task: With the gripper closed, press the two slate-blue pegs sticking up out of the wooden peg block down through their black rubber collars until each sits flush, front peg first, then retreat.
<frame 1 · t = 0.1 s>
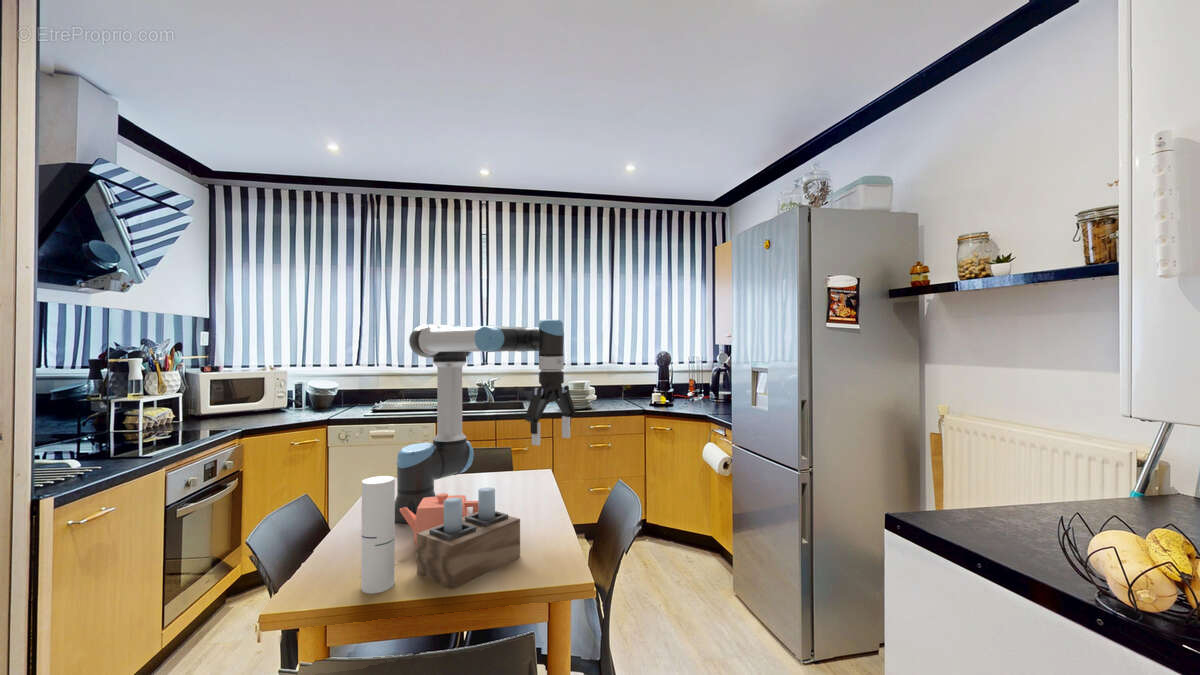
hand: (551, 441, 146), 28 cm above the table, fingers open, 13 cm apart
peg rear: (486, 506, 131), point 14 cm above the table, slide at 0.0 cm
teapot: (440, 544, 140), on the table
peg front: (453, 518, 122), point 14 cm above the table, slide at 0.0 cm
cylindrical container: (378, 586, 115), on the table
wooden peg block: (470, 564, 126), on the table
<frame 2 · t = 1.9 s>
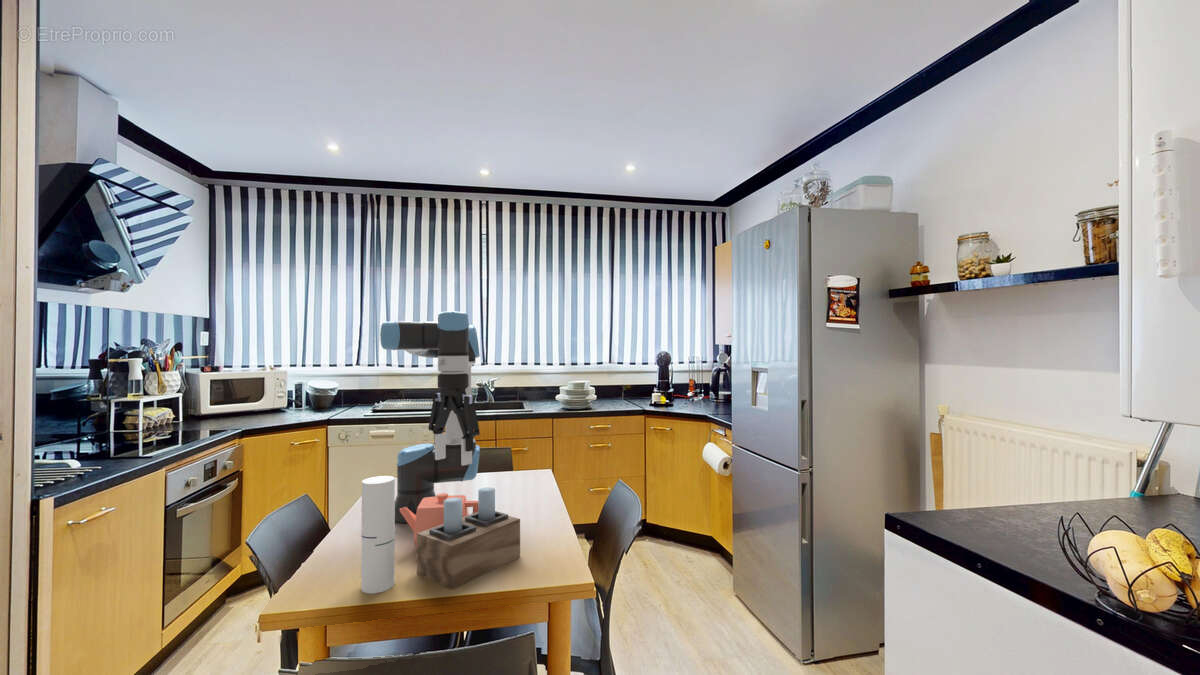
hand: (453, 461, 122), 28 cm above the table, fingers open, 10 cm apart
nothing on the table moved.
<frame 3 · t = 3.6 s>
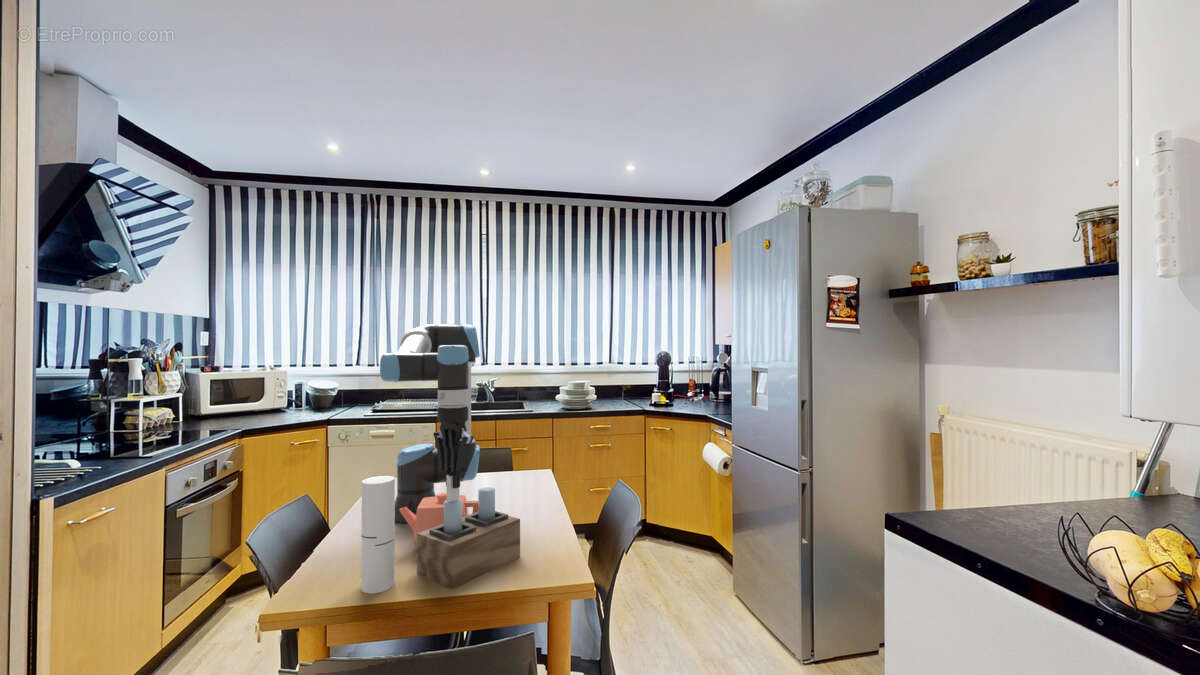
hand: (452, 500, 122), 18 cm above the table, fingers closed
peg front: (453, 519, 122), point 13 cm above the table, slide at 0.2 cm, touching gripper
everything else where it was.
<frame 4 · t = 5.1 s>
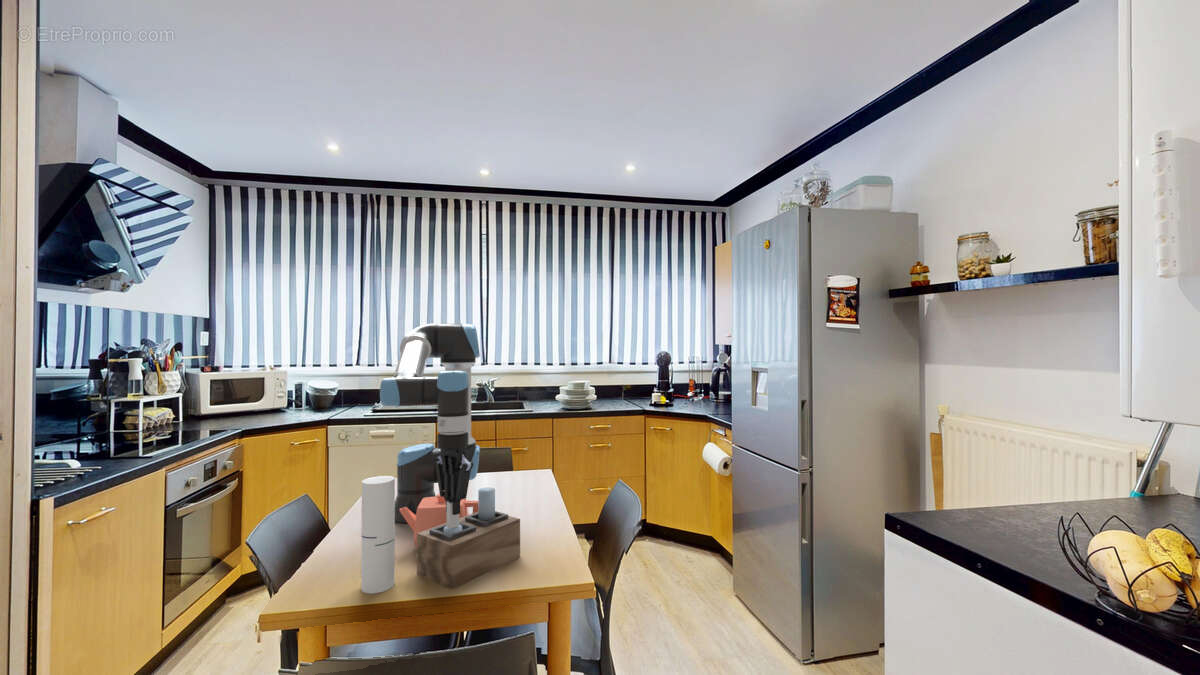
hand: (452, 526, 122), 11 cm above the table, fingers closed
peg front: (452, 545, 122), point 7 cm above the table, slide at 6.7 cm, touching gripper
everything else where it was.
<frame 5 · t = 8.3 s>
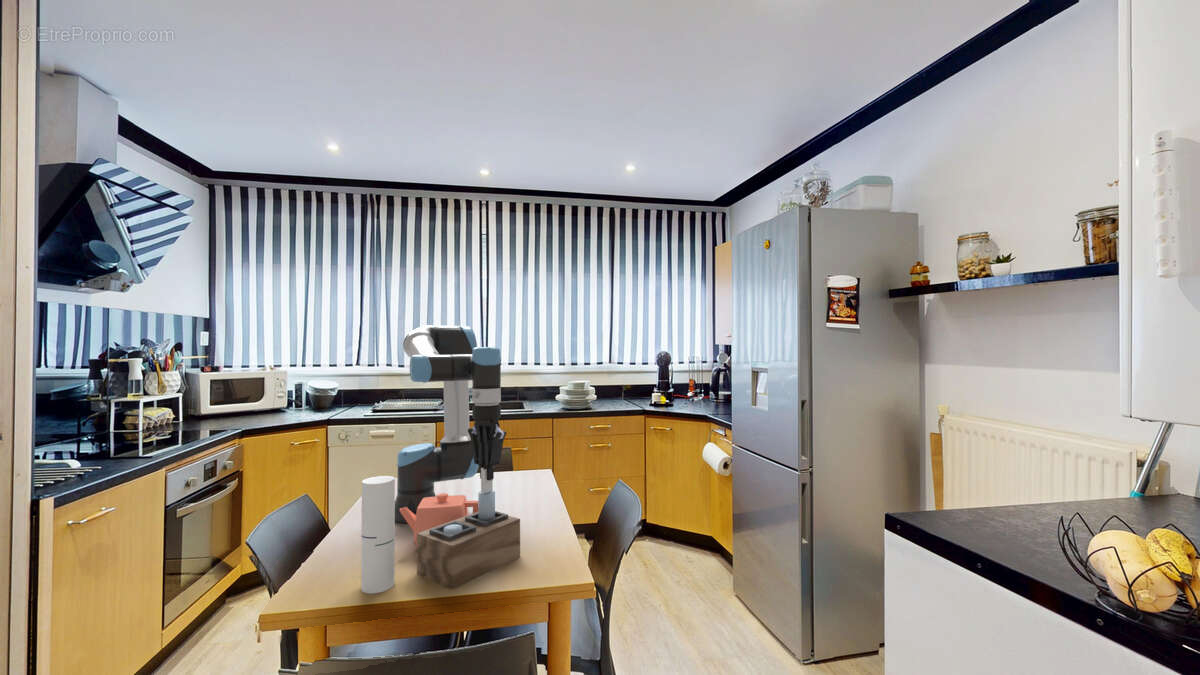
hand: (486, 491, 131), 18 cm above the table, fingers closed
peg rear: (486, 509, 131), point 13 cm above the table, slide at 0.8 cm, touching gripper
peg front: (452, 545, 122), point 7 cm above the table, slide at 6.8 cm
everything else where it was.
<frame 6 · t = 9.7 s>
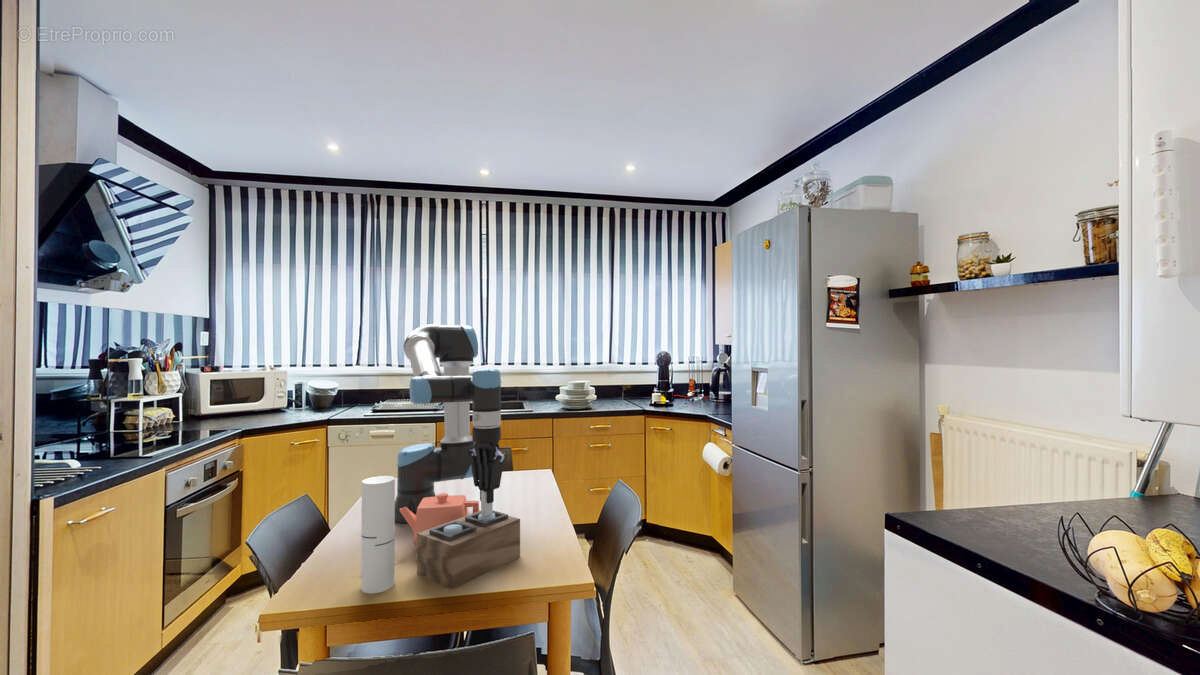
hand: (486, 514, 131), 11 cm above the table, fingers closed
peg rear: (486, 531, 131), point 7 cm above the table, slide at 6.8 cm, touching gripper
everything else where it was.
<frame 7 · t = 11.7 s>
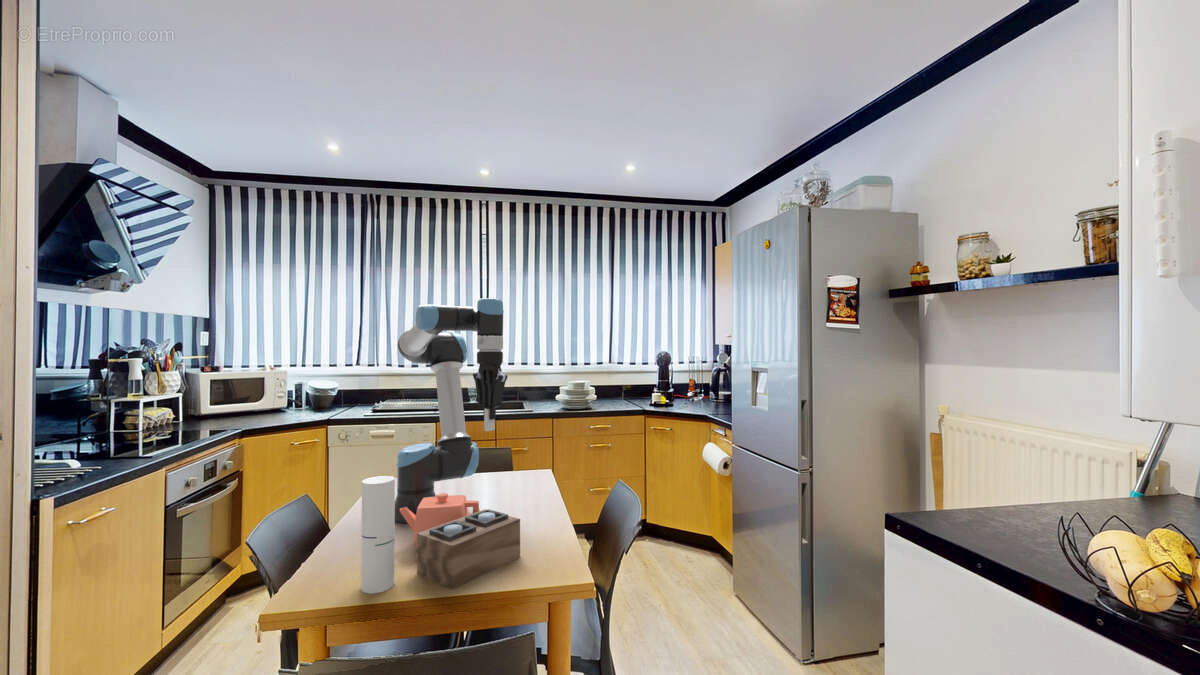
hand: (489, 430, 144), 32 cm above the table, fingers closed
peg rear: (486, 531, 131), point 7 cm above the table, slide at 6.8 cm
everything else where it was.
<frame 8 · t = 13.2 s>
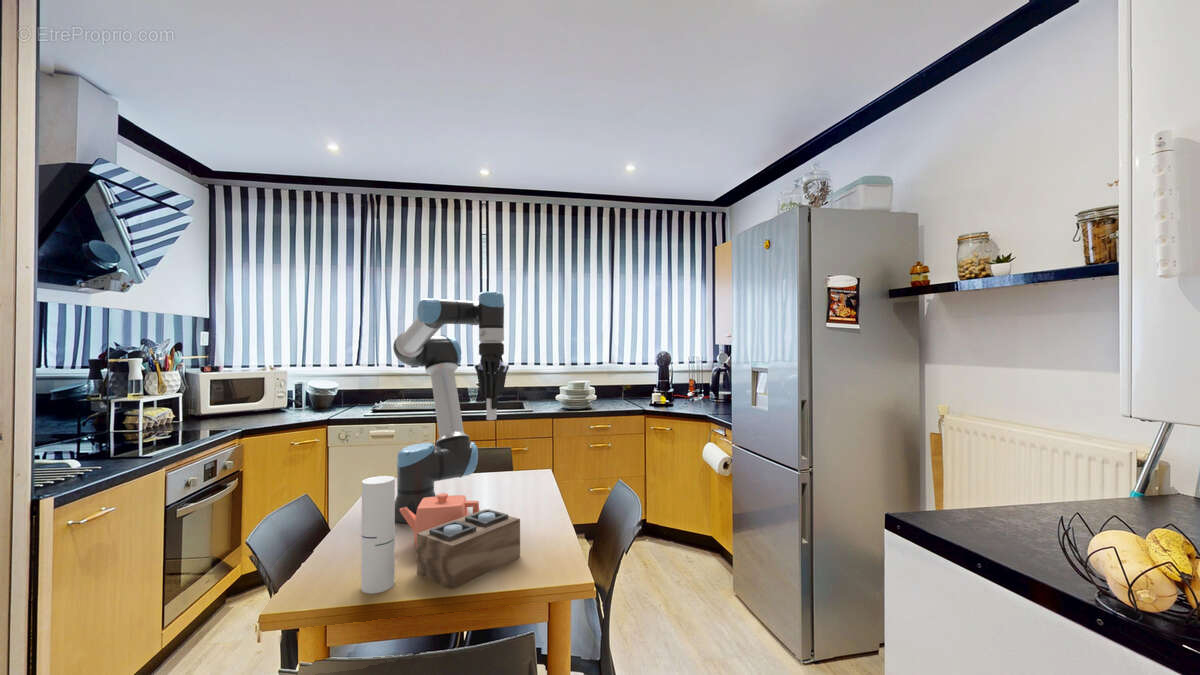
hand: (491, 419, 148), 34 cm above the table, fingers closed
nothing on the table moved.
at the end: peg front slide at 6.8 cm; peg rear slide at 6.8 cm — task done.
